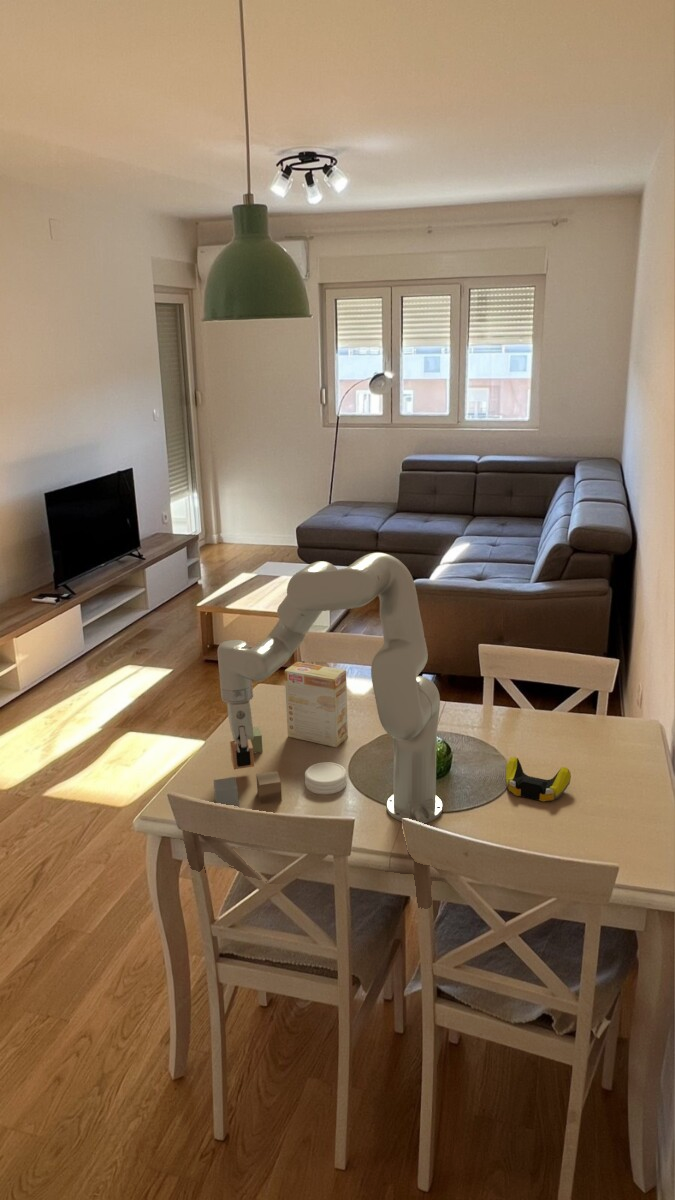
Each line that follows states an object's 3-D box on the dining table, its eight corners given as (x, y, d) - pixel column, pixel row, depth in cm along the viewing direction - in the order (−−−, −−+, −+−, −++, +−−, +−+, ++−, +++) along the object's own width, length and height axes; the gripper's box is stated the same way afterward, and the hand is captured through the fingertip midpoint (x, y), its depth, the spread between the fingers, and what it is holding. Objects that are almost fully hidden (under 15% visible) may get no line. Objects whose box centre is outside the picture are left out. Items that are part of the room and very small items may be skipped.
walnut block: (281, 800, 192) (280, 781, 190) (260, 803, 191) (259, 784, 189) (278, 789, 197) (277, 771, 195) (257, 792, 196) (256, 774, 194)
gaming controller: (508, 773, 201) (497, 793, 193) (509, 753, 200) (498, 772, 191) (571, 786, 195) (562, 808, 186) (572, 766, 193) (564, 786, 185)
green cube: (262, 752, 214) (261, 735, 213) (243, 755, 213) (242, 737, 211) (259, 743, 219) (258, 726, 217) (241, 746, 218) (239, 729, 216)
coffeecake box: (348, 736, 221) (347, 669, 215) (336, 748, 215) (334, 679, 209) (300, 726, 228) (297, 660, 222) (286, 737, 222) (283, 669, 216)
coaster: (354, 780, 200) (354, 767, 199) (332, 800, 192) (331, 786, 191) (320, 770, 205) (320, 757, 204) (297, 788, 197) (296, 775, 196)
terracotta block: (254, 766, 201) (252, 747, 199) (233, 769, 200) (232, 750, 198) (251, 756, 206) (250, 738, 204) (231, 759, 205) (230, 741, 203)
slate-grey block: (238, 807, 190) (237, 788, 188) (216, 810, 189) (215, 791, 187) (236, 795, 195) (235, 777, 193) (215, 798, 194) (213, 780, 192)
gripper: (257, 704, 190) (262, 774, 195) (248, 676, 206) (253, 742, 211) (224, 708, 188) (231, 779, 194) (217, 680, 204) (223, 746, 210)
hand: (242, 759), depth 202 cm, fingers closed on terracotta block, 4 cm apart
